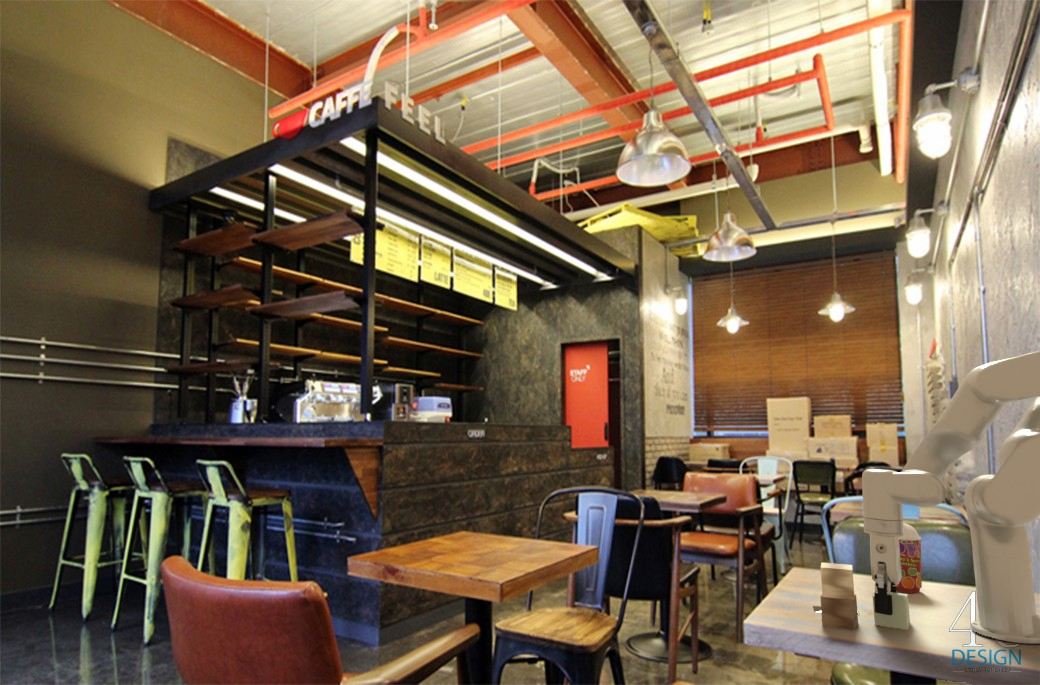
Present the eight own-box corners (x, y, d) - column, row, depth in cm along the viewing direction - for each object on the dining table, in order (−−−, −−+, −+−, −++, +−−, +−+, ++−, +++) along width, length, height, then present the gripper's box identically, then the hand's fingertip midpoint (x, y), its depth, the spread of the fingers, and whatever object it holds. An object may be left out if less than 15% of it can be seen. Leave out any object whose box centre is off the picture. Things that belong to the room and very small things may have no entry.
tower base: (858, 623, 135) (856, 594, 136) (854, 630, 130) (851, 600, 131) (827, 619, 139) (825, 590, 140) (822, 625, 134) (820, 596, 135)
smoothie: (892, 593, 161) (886, 512, 164) (884, 586, 169) (878, 509, 172) (930, 596, 159) (923, 514, 162) (920, 588, 167) (913, 510, 170)
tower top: (854, 593, 137) (852, 565, 138) (854, 600, 131) (852, 570, 132) (823, 590, 139) (821, 562, 140) (822, 596, 134) (820, 567, 135)
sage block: (910, 623, 136) (907, 594, 137) (907, 630, 131) (905, 600, 132) (878, 618, 139) (876, 590, 140) (874, 625, 134) (872, 595, 135)
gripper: (899, 533, 129) (903, 621, 127) (906, 525, 143) (910, 604, 141) (858, 529, 133) (860, 614, 131) (868, 521, 147) (871, 598, 145)
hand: (886, 608), depth 136 cm, fingers open, 9 cm apart
